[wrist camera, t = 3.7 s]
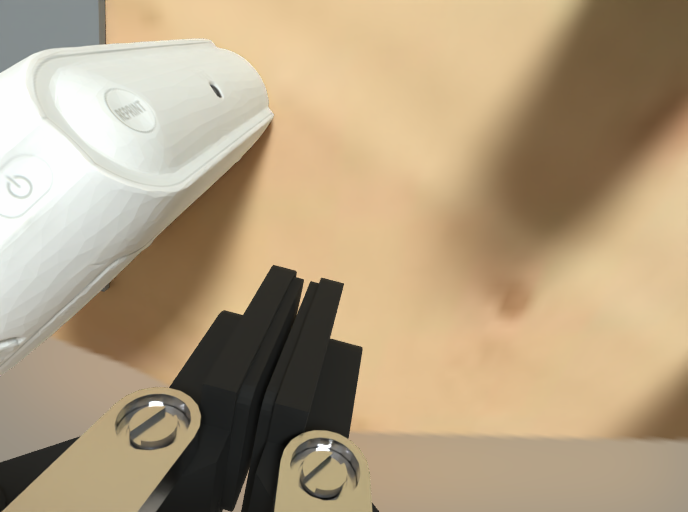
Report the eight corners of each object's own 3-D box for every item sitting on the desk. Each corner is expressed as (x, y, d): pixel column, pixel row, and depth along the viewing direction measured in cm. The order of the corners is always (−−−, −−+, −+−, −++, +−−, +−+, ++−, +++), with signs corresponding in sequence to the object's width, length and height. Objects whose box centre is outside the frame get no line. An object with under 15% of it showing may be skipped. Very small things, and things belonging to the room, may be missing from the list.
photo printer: (216, 16, 17) (-99, 6, 6) (295, 109, 18) (157, 245, 7) (61, 184, 21) (-314, 373, 10) (136, 253, 22) (-119, 490, 11)
